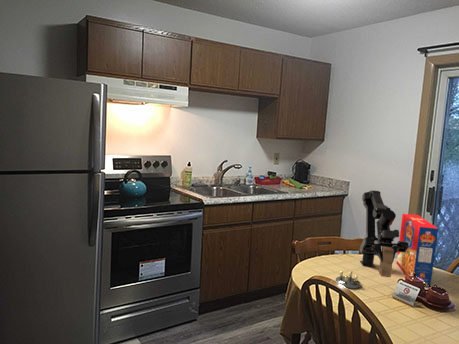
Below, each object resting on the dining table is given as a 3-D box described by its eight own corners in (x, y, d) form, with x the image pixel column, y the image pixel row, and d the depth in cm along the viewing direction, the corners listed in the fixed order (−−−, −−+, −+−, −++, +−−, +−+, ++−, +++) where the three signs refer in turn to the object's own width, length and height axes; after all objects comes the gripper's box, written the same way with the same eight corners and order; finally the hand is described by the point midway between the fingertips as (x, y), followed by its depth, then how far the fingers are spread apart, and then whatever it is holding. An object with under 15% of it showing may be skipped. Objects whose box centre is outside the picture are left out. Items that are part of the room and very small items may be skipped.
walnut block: (378, 272, 168) (382, 246, 167) (388, 274, 168) (391, 247, 166) (381, 276, 165) (384, 249, 163) (390, 277, 164) (394, 250, 162)
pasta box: (396, 263, 204) (402, 213, 200) (411, 265, 202) (418, 215, 199) (412, 284, 176) (419, 226, 173) (430, 286, 175) (438, 228, 171)
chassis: (339, 276, 179) (340, 267, 178) (363, 283, 173) (364, 273, 172) (332, 283, 170) (333, 274, 169) (356, 291, 164) (357, 281, 163)
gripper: (367, 220, 169) (369, 251, 159) (410, 224, 166) (415, 256, 156) (361, 232, 177) (363, 262, 168) (402, 236, 175) (407, 267, 165)
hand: (387, 262), depth 164 cm, fingers closed on walnut block, 4 cm apart
